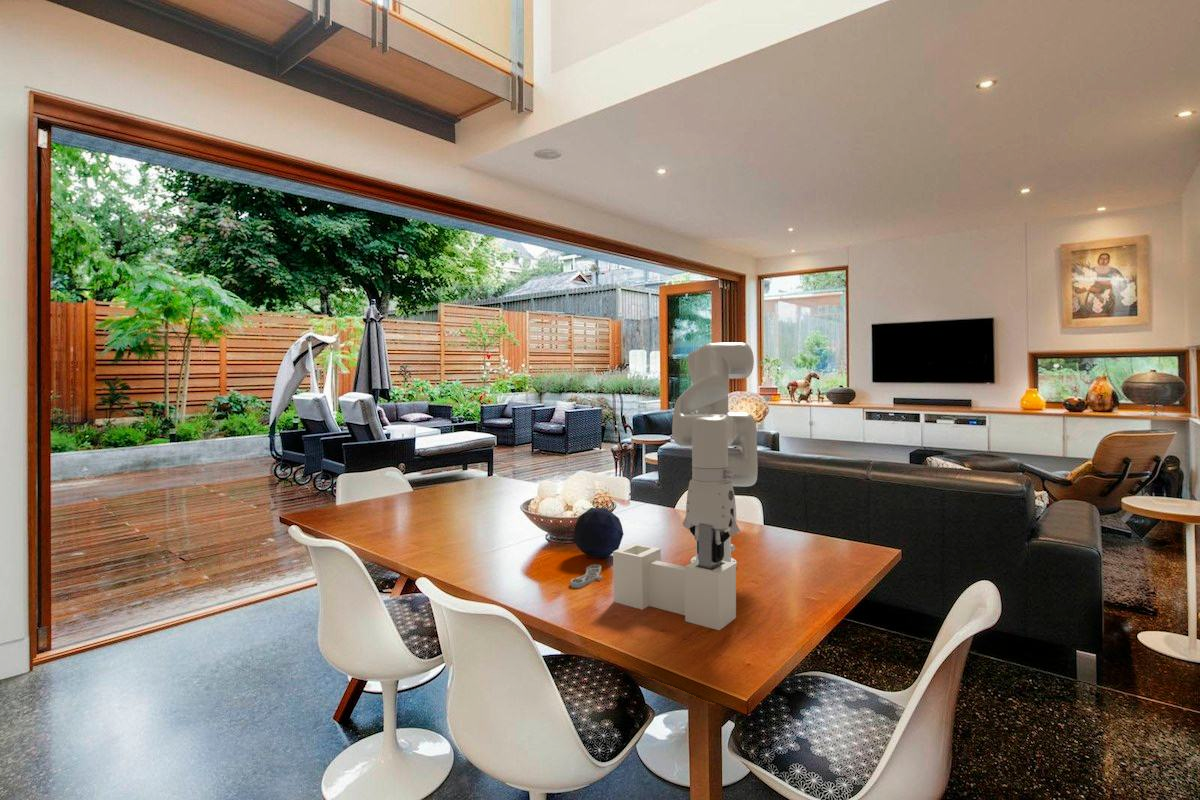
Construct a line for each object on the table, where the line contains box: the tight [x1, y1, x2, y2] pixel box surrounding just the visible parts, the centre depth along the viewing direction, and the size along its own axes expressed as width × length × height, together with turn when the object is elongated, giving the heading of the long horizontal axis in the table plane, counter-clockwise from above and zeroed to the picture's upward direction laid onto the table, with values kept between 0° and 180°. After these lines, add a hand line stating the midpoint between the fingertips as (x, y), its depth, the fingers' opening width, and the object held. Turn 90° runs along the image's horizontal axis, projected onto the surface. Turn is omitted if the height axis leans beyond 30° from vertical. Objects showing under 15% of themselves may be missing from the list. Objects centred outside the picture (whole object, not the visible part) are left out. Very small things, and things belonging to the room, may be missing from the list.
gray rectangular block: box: [699, 524, 722, 570], centre depth 130 cm, size 5×3×11 cm, turn 143°
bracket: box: [570, 564, 603, 589], centre depth 158 cm, size 8×2×15 cm
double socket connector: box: [612, 543, 737, 631], centre depth 136 cm, size 8×27×12 cm, turn 52°
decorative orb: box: [573, 507, 624, 559], centre depth 176 cm, size 14×15×15 cm
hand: (710, 559), depth 130 cm, fingers closed on gray rectangular block, 2 cm apart
